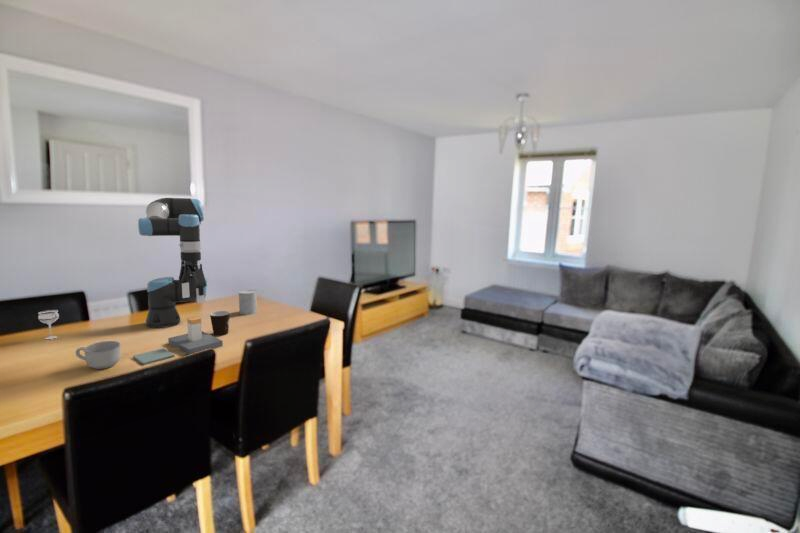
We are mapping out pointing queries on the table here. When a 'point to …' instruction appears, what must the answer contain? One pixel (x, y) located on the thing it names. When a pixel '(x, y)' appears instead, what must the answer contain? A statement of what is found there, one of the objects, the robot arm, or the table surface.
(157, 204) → the robot arm
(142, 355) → the pad
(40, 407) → the table surface
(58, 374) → the table surface
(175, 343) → the grey flat block
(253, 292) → the grey canister
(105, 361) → the teacup
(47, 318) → the wineglass
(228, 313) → the coffee mug
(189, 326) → the white tall block
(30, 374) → the table surface
